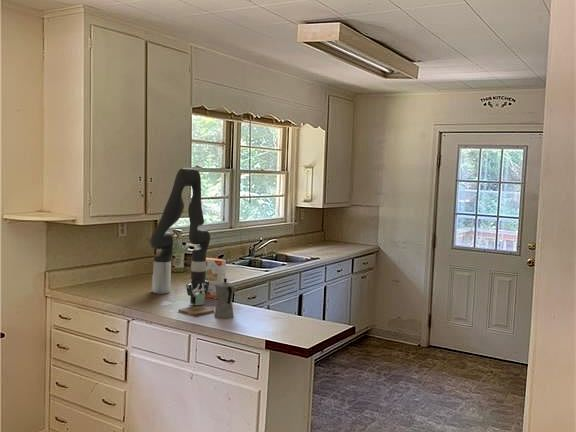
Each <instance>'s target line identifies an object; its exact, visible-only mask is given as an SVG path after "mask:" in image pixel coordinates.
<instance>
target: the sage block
mask: <svg viewBox="0 0 576 432" xmlns="http://www.w3.org/2000/svg"><path fill="white" fill-rule="evenodd" d="M193 294H194V292H193ZM189 297H190V298H189V299H190V300H189V304H190V305H192V306H197V305H198V306H201V305H205V299H206V298H205V294H202V293H196V295H195V304H192V303H191V296H189Z"/></svg>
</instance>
